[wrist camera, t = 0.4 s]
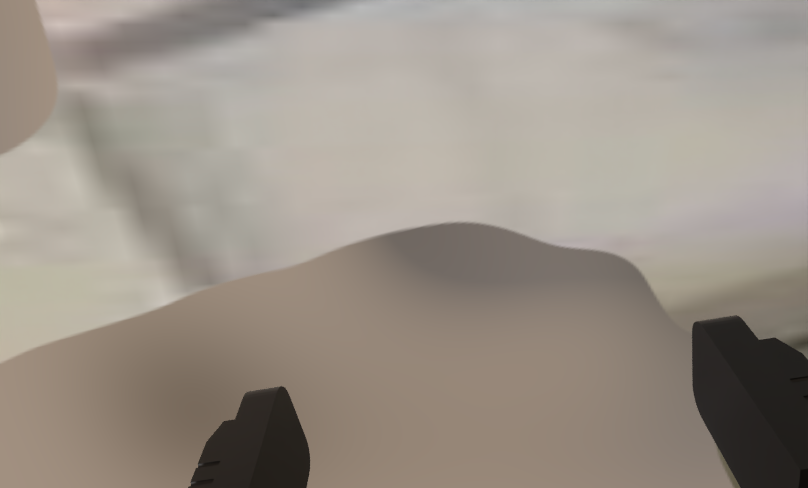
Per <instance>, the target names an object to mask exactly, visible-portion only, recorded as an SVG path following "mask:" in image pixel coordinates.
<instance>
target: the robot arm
mask: <svg viewBox="0 0 808 488" xmlns="http://www.w3.org/2000/svg"><path fill="white" fill-rule="evenodd" d="M692 364H693V365H692V366H693V369H692V370H693V371H692V372H693V374H692V375H693V392H694V397H695V401H696V405H697V408H698V410H699V413H700V415H701V417H702V419H703V421H704V423H705V424H706V426H707V428H708V430H709V432H710V433H711V435H712V437H713V439H714V441H715V443H716V444H717V446H718V448H719V450H720V452H721V453H722V455H723V457H724V459H725V461H726V462H727V464H728V466H729V468H730V470H731V471H732V473H733V475H734V477H735V478H736V480H737V482H738V484H739V486H740V487H741V488H808V360H807V358H806V357H805V356H804V355H803V354H802V353H800V352H799V351H797V350H795V349H794V348H792V347H790V346H788V345H787V344H785V343H783V342H782V341H780V340H778V339H776V338H770V339H763V340H758V338H757V337H756V336H755V335H754V333H753V332H752V331H751V330H750V328H749V327H748V326H747V325H746V323H745V322H744V321H743V320H742V319H741V318H740V317H739V316H737V315H735V316H729V317H722V318H716V319H710V320H703V321H697V322H695V323H694V324H693V328H692ZM309 471H310V454H309V447H308V443H307V440H306V437H305V434H304V432H303V429H302V427H301V424H300V422H299V419H298V416H297V414H296V411H295V409H294V406H293V404H292V401H291V399H290V396H289V394H288V392H287V390H286V389H285V388H284V387H282V386H281V387H275V388H269V389H263V390H256V391H250V392H247V393H245V395H244V397H243V399H242V402H241V405H240V408H239V411H238V413H237V416H236V419H235V420H229V421H224V422H223V423H222V424H221V426H220V427H219V428H218V429H217V430H216V431H215V432H214V434H213V435H212V436H211V437H210V438H209V440H208V441H207V442H206V445H205V447H204V450H203V453H202V455H201V457H200V460H199V463H198V468H196V470H195V472H194V475H193V477H192V480H191V486H190V487H188V488H306V487H307V482H308V477H309Z"/></svg>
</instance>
